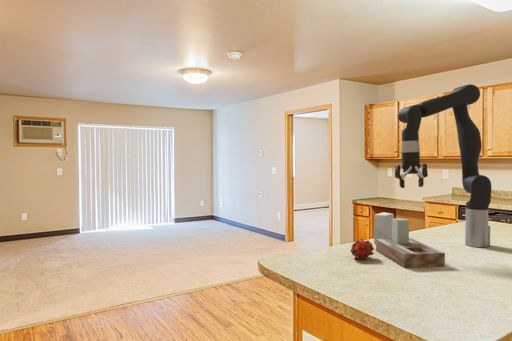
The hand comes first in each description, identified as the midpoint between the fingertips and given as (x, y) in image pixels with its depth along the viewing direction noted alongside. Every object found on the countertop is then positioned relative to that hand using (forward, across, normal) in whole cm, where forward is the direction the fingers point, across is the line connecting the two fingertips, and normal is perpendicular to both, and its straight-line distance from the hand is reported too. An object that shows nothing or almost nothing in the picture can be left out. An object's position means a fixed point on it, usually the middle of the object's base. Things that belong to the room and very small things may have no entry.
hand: (411, 187), depth 164 cm
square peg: (+27, +10, +7) cm, 29 cm away
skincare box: (+28, +8, -12) cm, 32 cm away
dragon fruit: (+28, +29, +12) cm, 42 cm away
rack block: (+28, +10, +13) cm, 32 cm away
